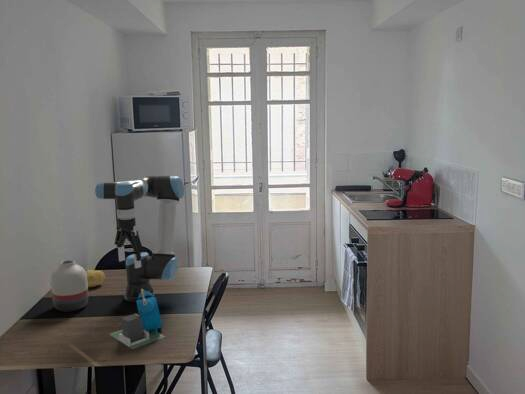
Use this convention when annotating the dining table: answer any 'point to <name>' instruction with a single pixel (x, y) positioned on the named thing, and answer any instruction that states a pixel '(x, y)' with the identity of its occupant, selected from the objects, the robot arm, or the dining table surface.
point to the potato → (94, 277)
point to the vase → (69, 287)
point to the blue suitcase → (149, 311)
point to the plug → (132, 327)
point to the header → (127, 341)
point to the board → (151, 338)
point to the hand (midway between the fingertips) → (129, 264)
